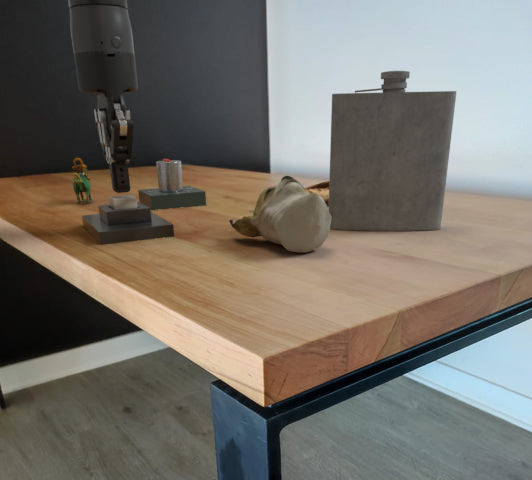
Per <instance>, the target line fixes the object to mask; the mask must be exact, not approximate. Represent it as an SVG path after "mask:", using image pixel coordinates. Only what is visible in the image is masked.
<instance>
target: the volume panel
mask: <svg viewBox="0 0 532 480" xmlns="http://www.w3.org/2000/svg"><path fill="white" fill-rule="evenodd" d="M137 192H138V202H140V203H142V204H144V205H146V206H147V207H149V208H150V209H152V210H151V211H159V210H158V209H162V210H170V209H169V208H173V209H181V208H180V207H184V208H193V206H194V207H204V206H207V196H206V195H207V193H206V191H205V190H203V189H199V188H197V187H193V186H191V185H183V190H182V191H176V192H161V191H159V187H157V188H155V187H154V188H142V189H137ZM156 209H157V210H156Z"/></svg>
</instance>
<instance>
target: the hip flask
mask: <svg viewBox="0 0 532 480" xmlns="http://www.w3.org/2000/svg"><path fill="white" fill-rule="evenodd" d="M410 74H411V72H410V71H407V70H387V71H382V72H381V73H380V80H383V84H381V86H380V87H381V88H371V89H359V90H354V92H348V93H346V92H345V93H343V92H341V93H332V94H331V116H330V118H331V119H330V147H329V148H330V149H329V150H330V151H329V153H330V154H329V180H328V181H329V205H328V210H329V214H330V215H331V225H330V230H331V229H332V230H341V231H343V230H344V231H373V232H374V231H375V232H376V231H377V232H381V231H383V232H384V231H385V232H405V231H408V232H409V231H410V232H412V231H413V232H415V231H416V232H417V231H437V230H440V229H442V221H443V220H442V219H443V210H444V202H445V194H446V186H447V177H448V169H449V160H450V151H451V142H452V134H453V124H454V116H455V107H456V99H457V91H456V90H452V91H451V90H445V91H444V90H443V91H442V90H441V91H440V90H439V91H438V90H437V91H435V90H434V91H406V89H407V88H408V82H407V79H410ZM376 91H382V92H376Z"/></svg>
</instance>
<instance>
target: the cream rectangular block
mask: <svg viewBox="0 0 532 480" xmlns="http://www.w3.org/2000/svg"><path fill="white" fill-rule="evenodd" d="M108 199H109V205H110V208H111V209H112V210H119V209H130V208H138V206H137V202H138V199H137V197H136V196H134V195H132V194H126V195H115V196H114V195H112V196H108Z"/></svg>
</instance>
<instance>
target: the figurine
mask: <svg viewBox="0 0 532 480" xmlns="http://www.w3.org/2000/svg"><path fill="white" fill-rule="evenodd" d="M77 161H79V162H80V164H77V163H76V162H77ZM72 164H73V166H72V167H71V169H73V171H75V170H76V171H75V173H72V175H73V176H74V177H73V183H72V187H73V191H74V194H75V195H76V198H77V199H76V200H77V203H78V204H82V203H83V201H85V200H86V203H87V204H89V203H90V202H91V203H92V201H94V198H92V195H91V194H92V193H91V190H92V189H91V188H92V184H91V183H92V182H91V179H90V177H89V172H88V171H89V170H88V166H87V165H86V164H84V162H83V160H82V158H80V157H75V158H74V159H73V161H72ZM83 193H85V197H86V199H85V198H84V194H83Z"/></svg>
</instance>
